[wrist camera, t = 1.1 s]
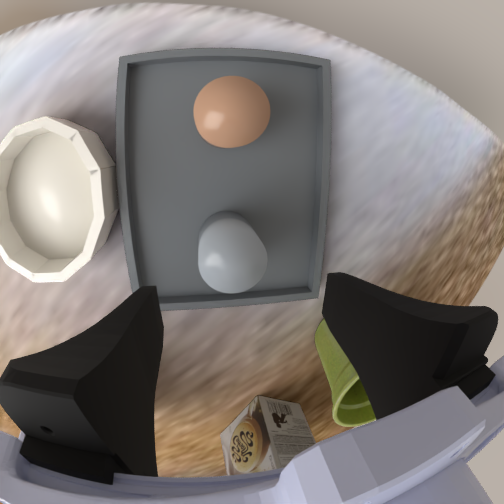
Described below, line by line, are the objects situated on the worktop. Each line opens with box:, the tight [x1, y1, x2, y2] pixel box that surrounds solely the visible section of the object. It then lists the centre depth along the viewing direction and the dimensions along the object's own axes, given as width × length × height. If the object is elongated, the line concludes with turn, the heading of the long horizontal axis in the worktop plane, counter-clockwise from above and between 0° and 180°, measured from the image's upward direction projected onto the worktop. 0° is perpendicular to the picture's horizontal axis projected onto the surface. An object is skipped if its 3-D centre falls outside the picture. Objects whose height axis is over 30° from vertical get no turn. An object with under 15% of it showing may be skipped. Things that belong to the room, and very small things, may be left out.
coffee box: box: [220, 396, 316, 476], centre depth 21 cm, size 9×6×16 cm
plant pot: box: [315, 319, 376, 427], centre depth 21 cm, size 9×9×9 cm
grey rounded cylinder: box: [198, 211, 268, 293], centre depth 17 cm, size 4×4×4 cm
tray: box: [116, 48, 331, 311], centre depth 17 cm, size 18×14×2 cm
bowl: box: [0, 116, 119, 282], centre depth 14 cm, size 11×11×3 cm
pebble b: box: [193, 76, 270, 149], centre depth 14 cm, size 4×4×4 cm
